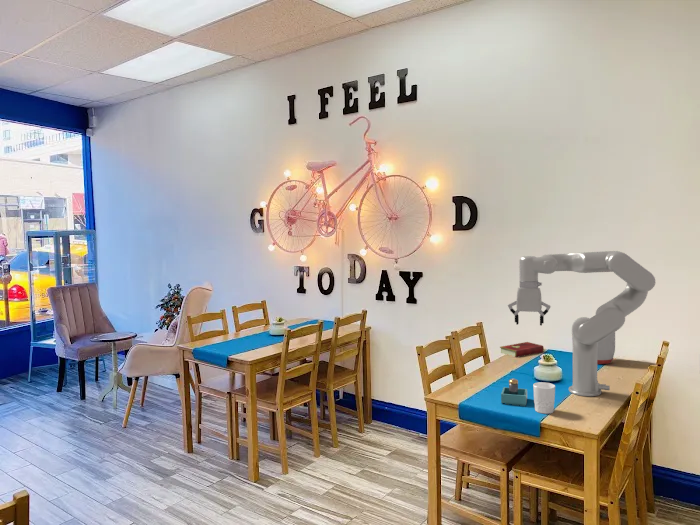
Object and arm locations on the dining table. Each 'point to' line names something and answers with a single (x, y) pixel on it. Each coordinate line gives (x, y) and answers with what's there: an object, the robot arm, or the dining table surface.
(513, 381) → the cell
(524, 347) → the hardcover book
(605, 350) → the citrus juicer
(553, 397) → the white cup
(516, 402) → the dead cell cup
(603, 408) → the dining table surface
